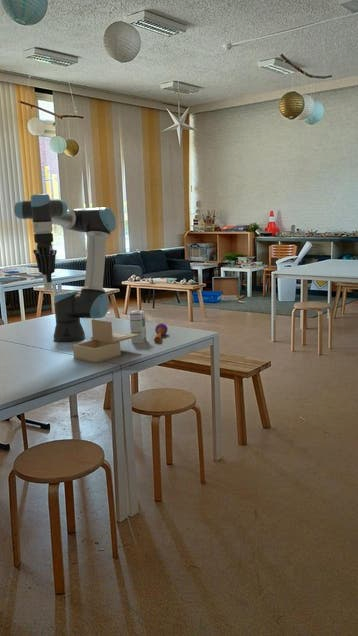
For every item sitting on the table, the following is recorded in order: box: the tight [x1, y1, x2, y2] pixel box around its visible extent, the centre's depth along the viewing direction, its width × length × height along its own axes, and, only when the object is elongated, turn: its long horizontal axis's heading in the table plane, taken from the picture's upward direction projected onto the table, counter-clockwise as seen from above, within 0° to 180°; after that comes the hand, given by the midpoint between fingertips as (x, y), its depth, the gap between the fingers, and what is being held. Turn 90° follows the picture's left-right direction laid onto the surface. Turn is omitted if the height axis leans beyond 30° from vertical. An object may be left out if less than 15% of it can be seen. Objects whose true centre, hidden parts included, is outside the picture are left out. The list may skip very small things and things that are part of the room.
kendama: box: [153, 323, 168, 344], centre depth 272 cm, size 6×6×20 cm
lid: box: [90, 318, 138, 343], centre depth 248 cm, size 15×15×9 cm
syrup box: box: [128, 309, 147, 344], centre depth 266 cm, size 6×6×14 cm
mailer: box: [72, 339, 122, 364], centre depth 241 cm, size 14×14×6 cm
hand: (48, 289), depth 238 cm, fingers closed
